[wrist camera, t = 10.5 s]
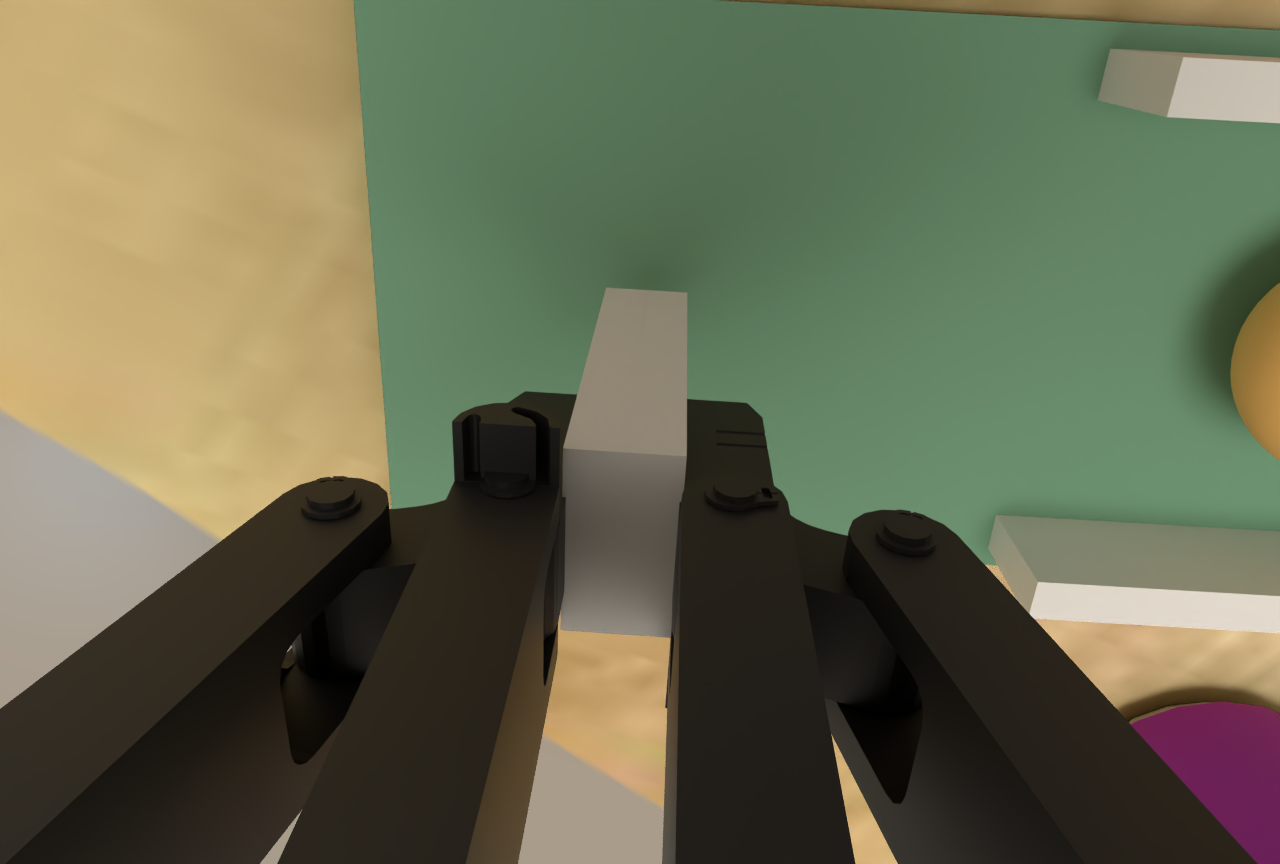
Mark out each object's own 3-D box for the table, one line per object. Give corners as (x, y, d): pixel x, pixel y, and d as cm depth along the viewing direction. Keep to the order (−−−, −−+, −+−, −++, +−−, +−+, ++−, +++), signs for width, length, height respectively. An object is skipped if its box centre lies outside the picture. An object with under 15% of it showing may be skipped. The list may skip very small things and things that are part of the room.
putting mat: (1621, 48, 19) (1640, 49, 19) (1377, 579, 25) (1387, 588, 24) (358, -19, 19) (352, -20, 19) (397, 521, 25) (393, 529, 24)
